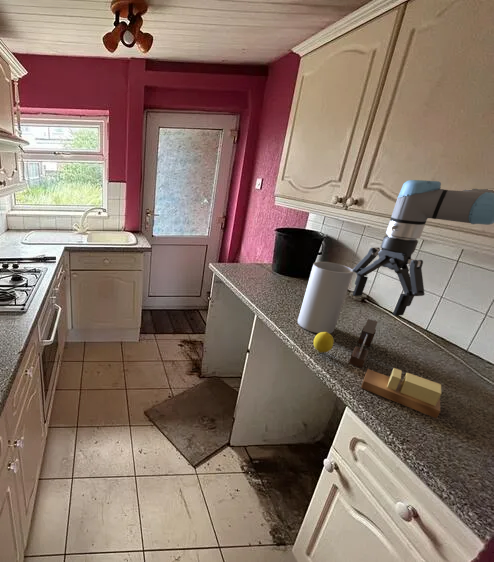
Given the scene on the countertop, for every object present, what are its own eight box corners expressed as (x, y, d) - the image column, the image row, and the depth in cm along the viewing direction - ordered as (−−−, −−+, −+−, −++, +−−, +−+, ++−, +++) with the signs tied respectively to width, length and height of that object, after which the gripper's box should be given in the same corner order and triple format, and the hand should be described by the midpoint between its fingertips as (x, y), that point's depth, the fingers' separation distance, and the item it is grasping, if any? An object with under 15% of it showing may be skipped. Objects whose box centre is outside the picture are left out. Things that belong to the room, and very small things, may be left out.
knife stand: (370, 343, 112) (376, 329, 110) (362, 368, 98) (368, 352, 96) (358, 340, 115) (363, 325, 112) (348, 363, 101) (354, 347, 99)
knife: (372, 336, 111) (377, 321, 109) (363, 360, 97) (369, 344, 95) (362, 333, 113) (368, 318, 111) (352, 356, 99) (358, 340, 97)
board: (436, 402, 85) (440, 395, 84) (436, 418, 80) (440, 411, 79) (364, 375, 95) (367, 368, 94) (360, 387, 90) (363, 380, 89)
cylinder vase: (294, 316, 130) (310, 260, 121) (329, 322, 126) (347, 264, 117) (299, 331, 119) (317, 269, 110) (337, 337, 115) (358, 275, 106)
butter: (435, 396, 84) (441, 384, 82) (435, 406, 80) (441, 393, 79) (401, 383, 88) (406, 372, 87) (400, 392, 85) (405, 380, 83)
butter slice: (396, 382, 89) (402, 370, 87) (395, 390, 85) (400, 378, 84) (388, 379, 90) (393, 367, 89) (387, 387, 87) (392, 375, 85)
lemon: (308, 352, 106) (315, 331, 103) (313, 346, 110) (319, 326, 107) (327, 359, 103) (334, 338, 100) (331, 352, 106) (338, 332, 103)
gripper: (352, 227, 99) (333, 289, 107) (439, 249, 76) (407, 325, 84) (372, 227, 100) (352, 288, 108) (464, 248, 77) (429, 323, 85)
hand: (376, 304), depth 96 cm, fingers open, 13 cm apart
